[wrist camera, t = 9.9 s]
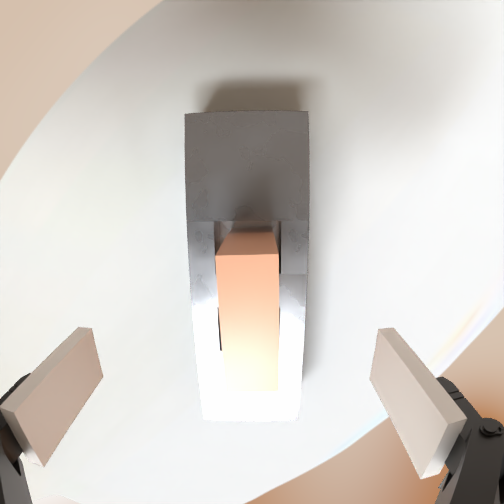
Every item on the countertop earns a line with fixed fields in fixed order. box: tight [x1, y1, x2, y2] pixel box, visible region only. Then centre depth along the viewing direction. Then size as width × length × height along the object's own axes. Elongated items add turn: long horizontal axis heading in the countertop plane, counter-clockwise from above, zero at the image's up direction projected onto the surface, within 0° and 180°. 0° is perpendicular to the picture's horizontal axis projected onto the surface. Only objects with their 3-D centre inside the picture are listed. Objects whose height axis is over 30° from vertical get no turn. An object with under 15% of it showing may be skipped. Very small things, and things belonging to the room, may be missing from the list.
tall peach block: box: [215, 227, 279, 392], centre depth 21 cm, size 3×8×9 cm, turn 2°
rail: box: [185, 111, 309, 421], centre depth 24 cm, size 8×24×4 cm, turn 1°
